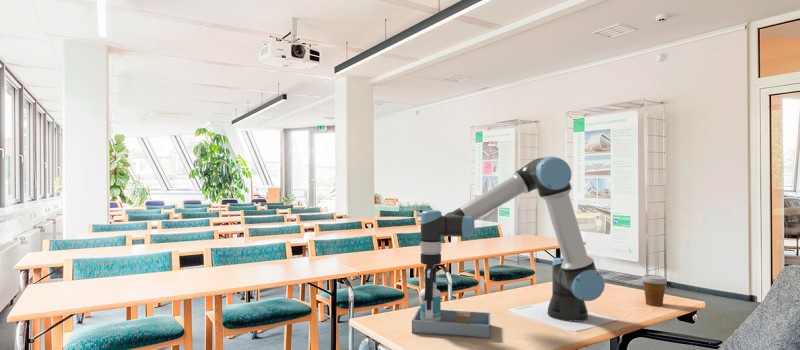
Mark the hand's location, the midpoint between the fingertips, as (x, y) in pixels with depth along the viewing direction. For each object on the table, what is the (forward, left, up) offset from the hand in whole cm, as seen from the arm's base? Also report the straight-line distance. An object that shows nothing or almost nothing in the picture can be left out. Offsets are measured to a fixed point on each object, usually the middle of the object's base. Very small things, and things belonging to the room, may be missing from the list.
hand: (430, 314), depth 170 cm
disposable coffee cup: (-92, -51, -5) cm, 105 cm away
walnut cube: (-12, 0, -4) cm, 12 cm away
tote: (-8, 0, -5) cm, 9 cm away
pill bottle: (0, 0, -2) cm, 2 cm away
